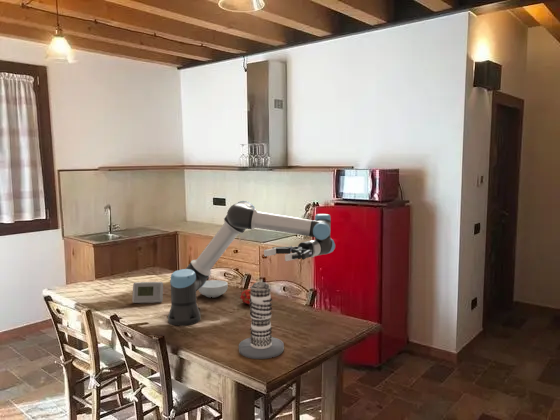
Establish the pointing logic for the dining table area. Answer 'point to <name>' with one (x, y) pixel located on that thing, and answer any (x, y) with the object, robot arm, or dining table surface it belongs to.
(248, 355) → the slate plate
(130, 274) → the dining table surface
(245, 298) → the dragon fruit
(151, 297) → the digital clock
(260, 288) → the decorative candle
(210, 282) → the cereal bowl
